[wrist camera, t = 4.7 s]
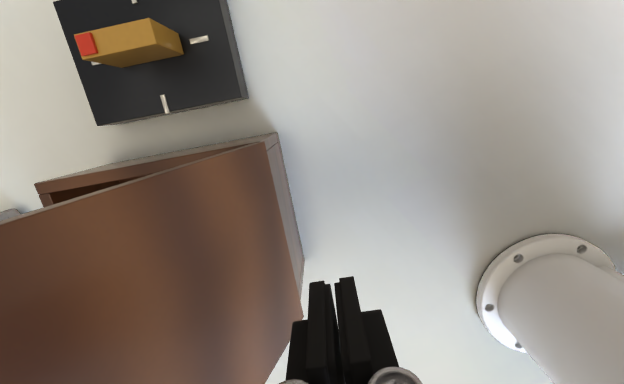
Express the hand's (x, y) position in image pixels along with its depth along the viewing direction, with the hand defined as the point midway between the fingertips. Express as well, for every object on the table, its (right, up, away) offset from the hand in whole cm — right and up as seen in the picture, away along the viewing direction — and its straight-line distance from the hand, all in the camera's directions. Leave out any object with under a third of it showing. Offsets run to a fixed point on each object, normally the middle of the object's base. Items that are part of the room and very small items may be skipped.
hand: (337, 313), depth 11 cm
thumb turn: (-13, +15, +11) cm, 23 cm away
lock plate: (-13, +16, +14) cm, 25 cm away
